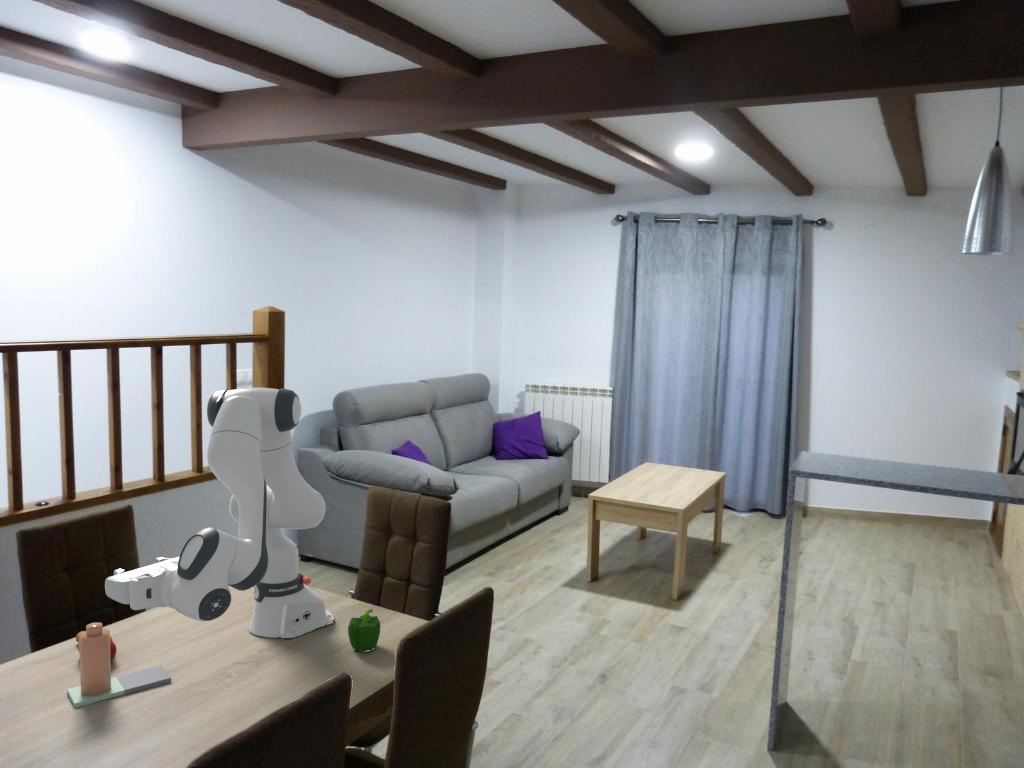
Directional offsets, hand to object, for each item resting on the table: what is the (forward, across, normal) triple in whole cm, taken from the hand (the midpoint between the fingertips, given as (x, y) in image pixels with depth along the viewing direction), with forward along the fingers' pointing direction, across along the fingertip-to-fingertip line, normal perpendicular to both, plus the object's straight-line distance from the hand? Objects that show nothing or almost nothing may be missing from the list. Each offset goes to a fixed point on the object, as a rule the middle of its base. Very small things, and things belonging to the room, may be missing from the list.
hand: (138, 566), depth 177 cm
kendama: (+24, -1, +30) cm, 39 cm away
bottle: (+5, +8, +28) cm, 29 cm away
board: (+4, +3, +29) cm, 29 cm away
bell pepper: (-23, -47, +30) cm, 60 cm away
